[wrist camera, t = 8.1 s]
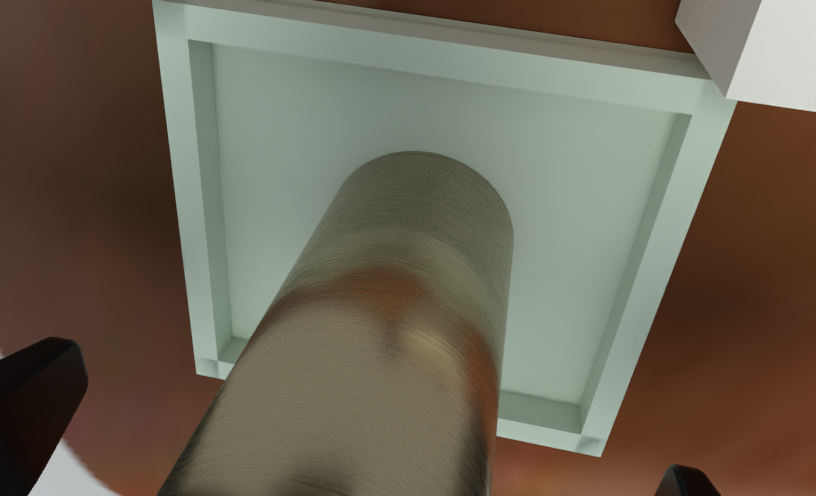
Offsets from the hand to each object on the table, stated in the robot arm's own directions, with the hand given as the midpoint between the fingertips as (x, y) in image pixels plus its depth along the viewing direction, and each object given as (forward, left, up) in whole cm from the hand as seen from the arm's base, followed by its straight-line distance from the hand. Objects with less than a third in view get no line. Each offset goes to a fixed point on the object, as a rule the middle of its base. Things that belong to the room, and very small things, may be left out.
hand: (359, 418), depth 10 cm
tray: (0, 0, -6) cm, 6 cm away
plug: (0, 0, -5) cm, 5 cm away
